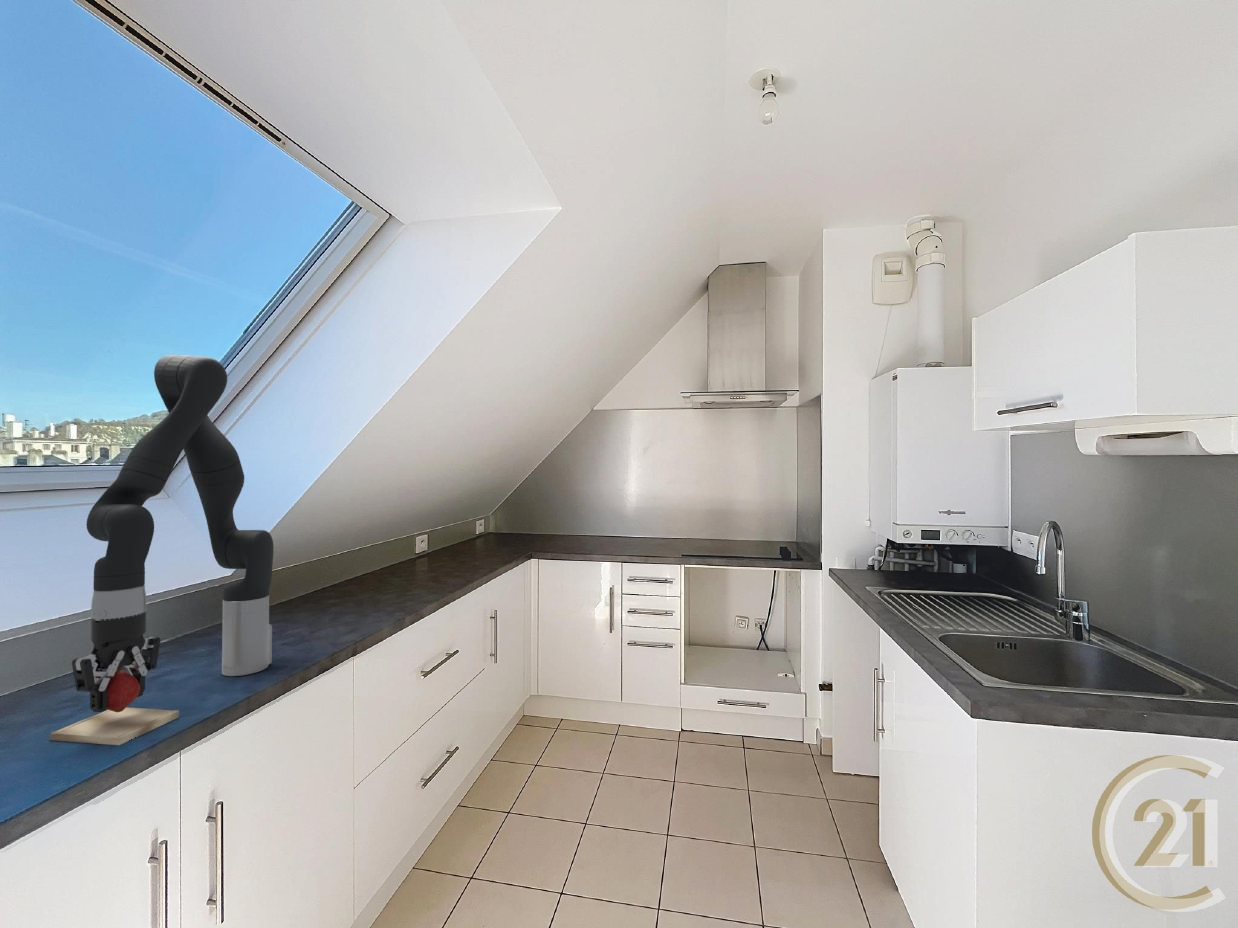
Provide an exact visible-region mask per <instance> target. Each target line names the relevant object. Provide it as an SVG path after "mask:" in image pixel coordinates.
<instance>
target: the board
mask: <svg viewBox="0 0 1238 928" xmlns="http://www.w3.org/2000/svg"><path fill="white" fill-rule="evenodd" d="M179 717H180V710H169V709H157V708H156V709H155V708H143V707H141V708H139V707H128V706H127V707H126V708H125V709H124V710H123V711H121V712H114V711H111V710H106V711H103V712H98V714H97V713H96V714H95V715H92V716H90V717H87V718H85V719H81V720H79V721H77V722H75V723H72V724H70V725H67V726H64V727H63V728H60V729H58V730H55V731H52V732H50V741H55V742H57V741H59V742H68V743H69V742H71V743H84V744H96V745H98V744H99V745H107V746H109V745H110V746H111V745H112V746H121V745H123V744H125V743H127V742H130V741H132V740H134V739H136V738H138V737H140V736H143V735H144V734H148V732H150V731H153V730H155V729H157V728H160V727H161V726H163V725H165V724H168V723H169V722H173V721H174V720H176V719H178V718H179ZM135 737H136V738H135ZM131 739H132V740H131ZM129 740H130V741H129Z"/></svg>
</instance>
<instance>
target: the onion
mask: <svg viewBox="0 0 1238 928" xmlns="http://www.w3.org/2000/svg"><path fill="white" fill-rule="evenodd" d="M125 670H126V668H124V667H121V668H120V669H117V670H116V672H115V674H114V676H113V677H111V678H110V680H109V682H108V685H107V687H106V689H105V690H107V710H111V711H114V712H121V711H123V710H124V709H125V708H126V707H128V706H129V705H131V704H132V703H133V702H134V701H135V700H136V699H137V698H138V697H137V696H138V695H139V693H140V684H139V682H138V680H137V679H136V678H135V677H134V676H133V675H131V674H129V673H127V672H125ZM107 710H106V711H107Z"/></svg>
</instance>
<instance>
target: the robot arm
mask: <svg viewBox="0 0 1238 928" xmlns="http://www.w3.org/2000/svg"><path fill="white" fill-rule="evenodd" d="M153 378H154V379H153V380H154V383H155V386H156V389H157V391H158V393H159V395H160V398H161V400H162V402H163V404H164V406H165V407H166V410H167V412H168V414H167V415H166V416H165V417H164V418H163V419H162V420H161V421H159V422H158V423H157V424H156V425H155V426H154V427H153V428H152V429H150V430H149V431H148V432H147V433H145V434H144V435H143V436H142V437H141V438H140V439H139V440H138V441H137V443H135V445H134V446H133V448H132V449H131V451H130V452H129V454H128V455H127V458H126V460H125V461H124V463H123V465H122V467H121V469H120V471H119V473H118V475H117V478H116V479H115V480H114V481H113V482H112V483H111V485H109V487H107V489H106V490H105V491H104V492H103V493H102V495H101V496H100V497H99V498H98V500H97V501H96V502H95V503H94V505H92V507H91V510H90V511H89V513H88V516H87V519H86V530H87V532H88V534H89V535H90V536H91V537H92V538H93V539H95V540H97V541H101V542H107V546H106V552H105V556H103V557H101V558H99V559H97V560H96V561H95V563H94V568H93V593H92V598H91V607H90V608H91V613H90V615H91V616H90V618H91V619H90V623H91V624H90V640H91V642H92V644H93V648H92V650H91V653H89V655H87V656H84V657H81V658H79V657H75V658H74V659H73V660H72V662H71V666H72V672H73V678H74V683H75V690H76V691H77V692H87V693H89V708H90V710H91V711H92V712H93V713H102V712H104V711H107V690H105V689H106V687H107V685H108V682H109V680H110V678H111V677H113V676H114V674H115V672H116V671H117V670H118V669H120V668H124V667H125V669H127V671H128V672H129V673H130V675H132V676H134V677H135V678H136V679H137V680H138V682H139V684H140V693H139V695H138V696H137V698H139V697H142V696H143V695H144V692H145V690H146V675H147V674H148V672H149V671H151V670H154V669H156V668H157V665H158V659H159V658H158V657H159V651H160V647H161V646H160V644H161V638H160V637H159V636H146V637H144V635H145V634H146V632H147V592H146V591H147V590H146V584H145V582H146V567H145V563H146V560H147V557H148V555H149V551H150V548H151V545H152V541H153V539H154V533H155V521H154V517H153V515H152V513H151V512H150V511H149V510H148V509H147V508H145V506H143V505H144V504H145V503H146V501H147V500H148V499H150V498H153V497H155V496H158V495H160V493H161V492H162V490H164V488H165V486H166V483H168V482H167V481H168V480H169V478H170V475H171V474H172V471H173V469H174V467H175V464H177V461H178V459H179V457H180V455H181V454H182V452H184V455H185V458H186V460H187V465H188V468H189V471H190V473H191V478H192V479H193V483H194V485H195V486H194V487H195V488H196V490H197V493H198V496H199V499H200V503H201V507H202V508H203V512H204V513H203V514H204V516H205V519H206V525H207V530H208V534H209V541H210V546H211V549H212V552H213V553H212V554H213V556H214V558H215V562H217V564H218V565H219V566H220V567H221V568H223V569H228V570H245V575H244V577H243V579H241V580H239V581H238V582H235V583H231V584H228V585H227V586H225V587H224V588H223V589H222V631H221V633H222V638H221V643H222V644H221V645H222V646H221V647H222V648H221V674H222V675H223V676H225V677H237V676H246V675H252V674H255V673H258V672H261V671H263V670H266V669H267V668H269V665H270V664H272V662H273V661H272V660H273V659H272V657H273V654H272V653H273V652H272V651H273V648H272V646H273V639H272V638H273V625H272V624H270V587H271V584H272V580H273V579H272V578H273V564H274V563H273V562H274V540H273V537H272V534H271V533H270V532H268V531H267V530H264V529H238V528H237V525H236V523H235V518H234V510H235V509H234V507H235V505H236V503H237V500H238V499H239V497H240V494H241V492H242V490H243V488H244V484H245V473H244V470H243V466H242V463H241V459H240V457H239V453H238V451H237V450H236V448H235V447H234V445H233V444H232V442H231V441H229V439H228V438H227V437H226V435H224V434H223V432H222V431H221V430H220V429H219V428H218V427H217V426H216V425H215V423H213V421H212V419H211V418H210V416H208V415H209V413H210V412H211V411H212V410H213V408H214V407H215V405H216V404H217V403H218V401H220V398H221V397H222V396H223V393H224V392H225V390H226V388H227V385H228V374H227V371H226V368H225V366H224V365H223V364H222V363H221V362H220V361H219V360H216V359H215V358H212V357H207V356H201V355H187V354H185V355H184V354H167V355H163V356H161V358H159V359H158V361H157V362H156V363H155V365H154V371H153ZM94 663H95V664H94ZM103 670H106V671H103ZM129 673H128V674H129Z"/></svg>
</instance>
